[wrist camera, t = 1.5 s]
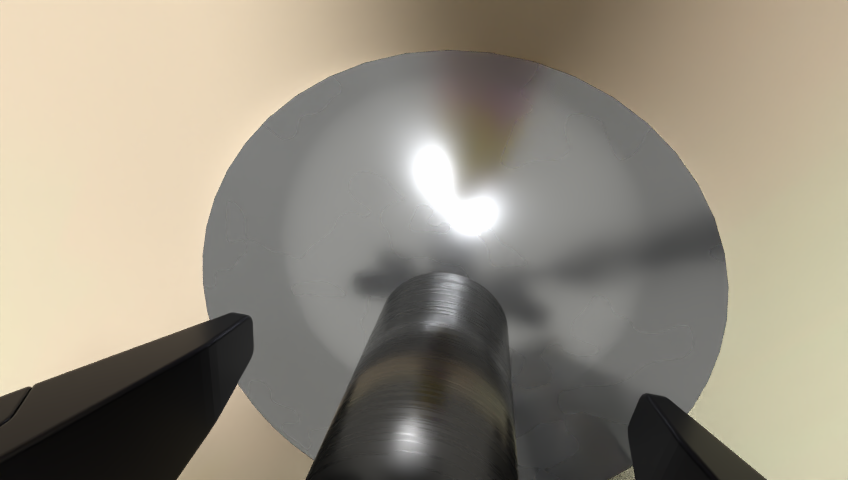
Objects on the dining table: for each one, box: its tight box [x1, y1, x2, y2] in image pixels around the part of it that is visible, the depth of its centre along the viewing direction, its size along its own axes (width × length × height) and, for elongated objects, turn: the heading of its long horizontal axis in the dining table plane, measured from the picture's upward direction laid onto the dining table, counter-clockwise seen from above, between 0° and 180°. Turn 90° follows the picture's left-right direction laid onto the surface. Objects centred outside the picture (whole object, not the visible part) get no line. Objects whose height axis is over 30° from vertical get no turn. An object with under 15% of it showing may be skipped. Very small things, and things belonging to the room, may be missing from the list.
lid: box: [203, 50, 728, 480], centre depth 8 cm, size 12×12×6 cm
